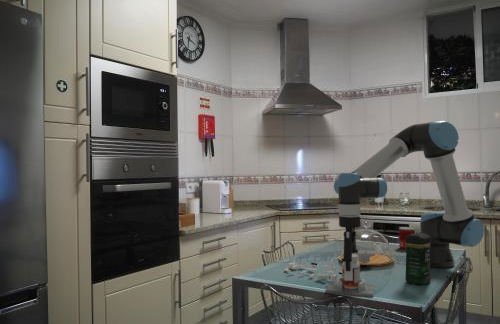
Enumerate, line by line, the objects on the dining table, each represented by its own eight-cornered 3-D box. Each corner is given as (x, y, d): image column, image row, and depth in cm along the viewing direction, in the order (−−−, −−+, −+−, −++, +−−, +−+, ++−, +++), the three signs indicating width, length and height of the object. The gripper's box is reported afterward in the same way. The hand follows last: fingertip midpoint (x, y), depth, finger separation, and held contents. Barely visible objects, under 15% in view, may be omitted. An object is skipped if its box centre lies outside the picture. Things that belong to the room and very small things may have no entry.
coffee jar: (424, 286, 146) (422, 235, 147) (402, 282, 152) (401, 233, 152) (434, 281, 153) (433, 232, 154) (413, 277, 159) (412, 230, 159)
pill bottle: (338, 287, 144) (338, 255, 144) (348, 283, 148) (348, 252, 148) (353, 290, 139) (353, 258, 140) (363, 287, 144) (362, 255, 144)
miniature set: (360, 277, 155) (341, 288, 147) (295, 268, 181) (275, 277, 173) (358, 260, 155) (338, 271, 147) (292, 254, 181) (273, 262, 173)
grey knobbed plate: (375, 287, 147) (374, 277, 147) (373, 297, 135) (373, 286, 135) (330, 283, 152) (330, 274, 152) (325, 292, 141) (325, 282, 141)
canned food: (413, 250, 211) (413, 229, 211) (397, 248, 216) (397, 228, 216) (416, 247, 218) (416, 227, 218) (401, 246, 222) (400, 226, 222)
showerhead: (355, 251, 174) (351, 247, 184) (355, 268, 174) (351, 263, 184) (377, 251, 174) (372, 247, 183) (377, 268, 173) (372, 263, 183)
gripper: (343, 211, 157) (344, 266, 157) (334, 219, 134) (335, 283, 133) (363, 212, 155) (363, 267, 154) (357, 220, 131) (358, 285, 131)
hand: (350, 275), depth 144 cm, fingers open, 13 cm apart
